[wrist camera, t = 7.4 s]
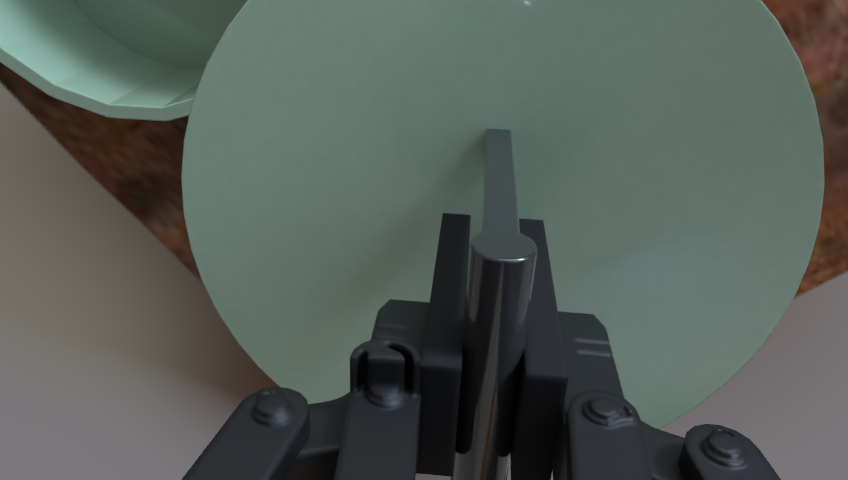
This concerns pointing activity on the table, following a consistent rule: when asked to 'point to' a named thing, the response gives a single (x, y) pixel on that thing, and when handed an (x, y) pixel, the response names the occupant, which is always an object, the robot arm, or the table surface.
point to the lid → (505, 186)
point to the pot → (115, 51)
